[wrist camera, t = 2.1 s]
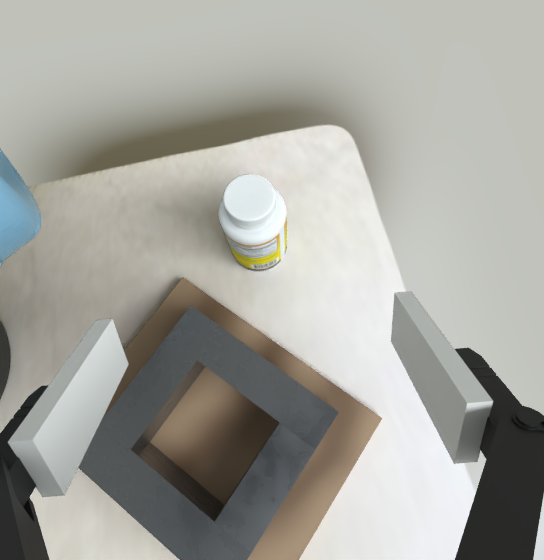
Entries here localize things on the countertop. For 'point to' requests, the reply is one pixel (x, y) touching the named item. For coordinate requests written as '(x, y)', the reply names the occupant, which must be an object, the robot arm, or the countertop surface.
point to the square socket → (176, 482)
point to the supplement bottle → (254, 222)
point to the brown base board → (249, 425)
